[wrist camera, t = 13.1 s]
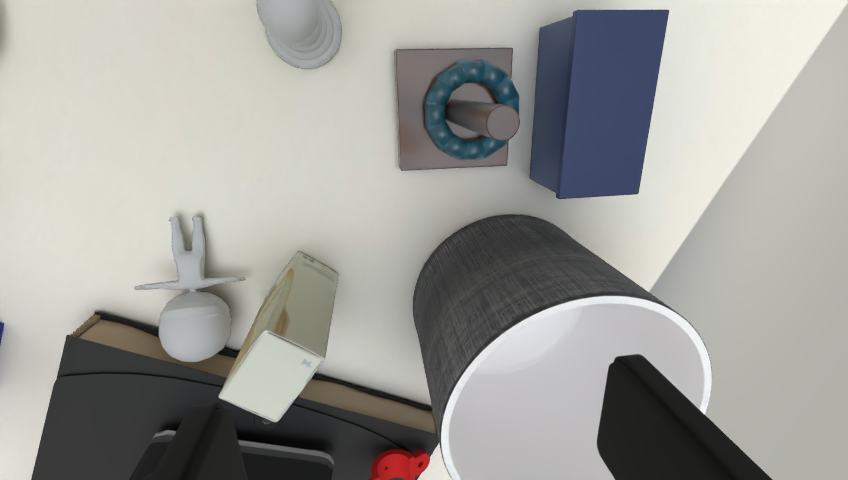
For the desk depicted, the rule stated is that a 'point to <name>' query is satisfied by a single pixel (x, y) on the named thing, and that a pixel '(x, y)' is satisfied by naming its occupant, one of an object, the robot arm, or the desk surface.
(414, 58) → the peg
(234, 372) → the cosmetic box
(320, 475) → the camera
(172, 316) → the figurine
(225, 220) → the desk surface
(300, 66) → the chess piece
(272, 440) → the file folder
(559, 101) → the box
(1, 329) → the milk carton
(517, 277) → the planter
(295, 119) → the desk surface
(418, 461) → the pipe clamp
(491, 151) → the ring
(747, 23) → the desk surface
